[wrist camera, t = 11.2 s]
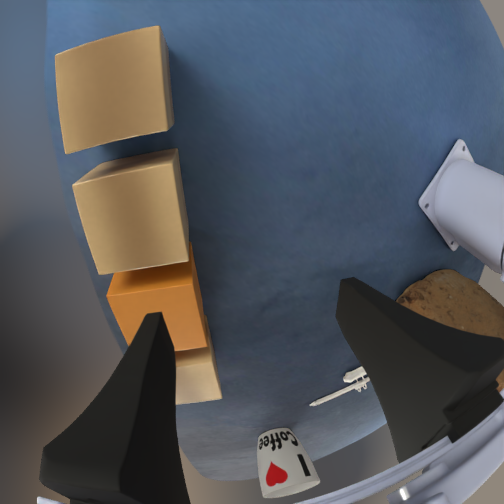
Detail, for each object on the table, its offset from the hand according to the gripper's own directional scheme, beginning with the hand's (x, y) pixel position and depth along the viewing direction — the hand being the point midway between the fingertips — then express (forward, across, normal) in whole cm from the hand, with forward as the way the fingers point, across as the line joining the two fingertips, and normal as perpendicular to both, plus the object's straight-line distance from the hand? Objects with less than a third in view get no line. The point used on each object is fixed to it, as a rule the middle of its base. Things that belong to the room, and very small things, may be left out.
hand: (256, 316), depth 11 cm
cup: (+10, -3, +35) cm, 36 cm away
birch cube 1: (+9, +5, +10) cm, 15 cm away
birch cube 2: (+9, +5, -3) cm, 11 cm away
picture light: (+10, -14, +23) cm, 29 cm away
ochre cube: (+9, +5, +3) cm, 11 cm away
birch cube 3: (+9, +5, -9) cm, 14 cm away
